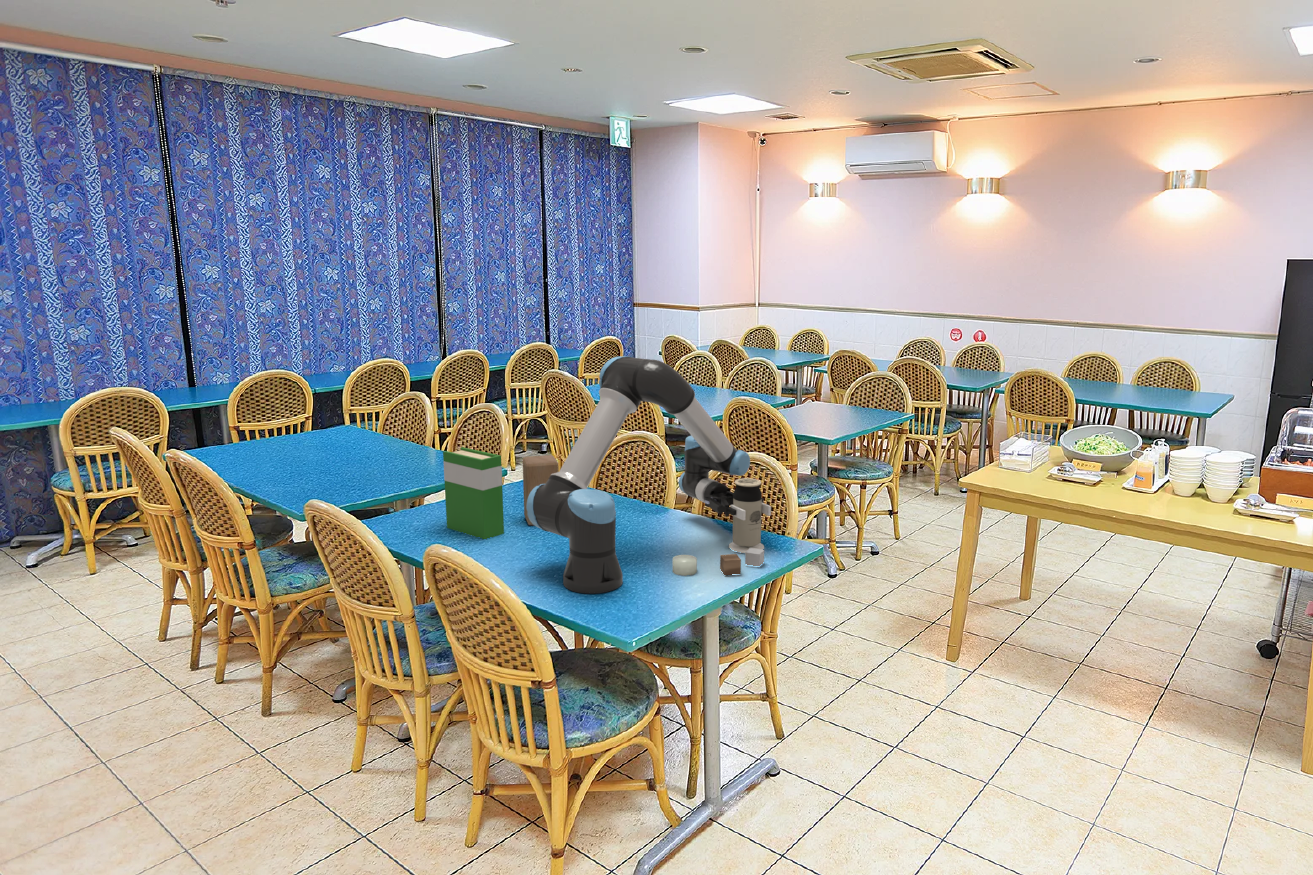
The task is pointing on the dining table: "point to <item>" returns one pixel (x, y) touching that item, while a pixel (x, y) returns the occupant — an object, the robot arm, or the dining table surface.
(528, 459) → the block
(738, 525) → the travel mug
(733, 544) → the saucer
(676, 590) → the dining table surface
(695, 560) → the beige rounded cylinder
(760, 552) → the grey cube
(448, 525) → the hardback book
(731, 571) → the walnut block
